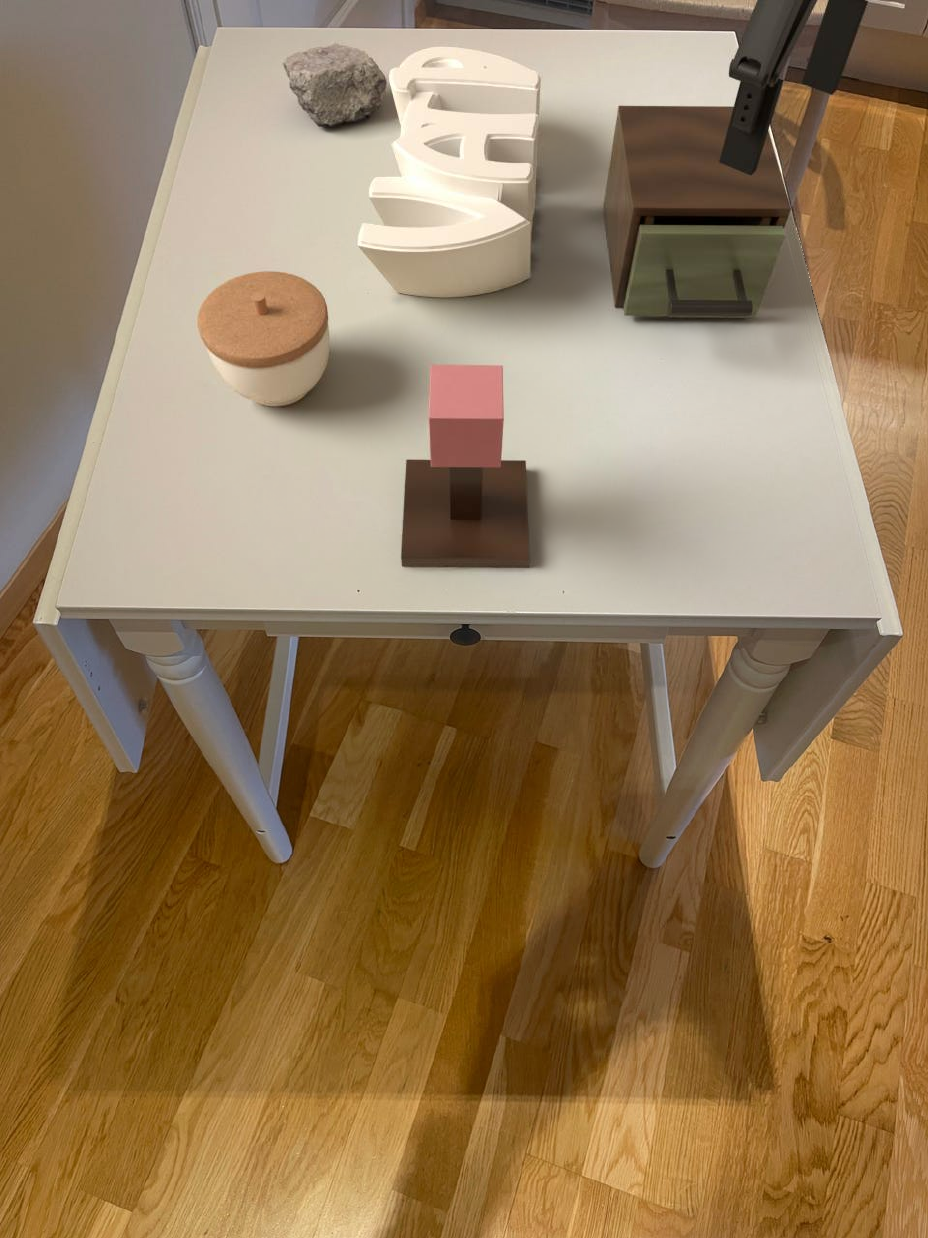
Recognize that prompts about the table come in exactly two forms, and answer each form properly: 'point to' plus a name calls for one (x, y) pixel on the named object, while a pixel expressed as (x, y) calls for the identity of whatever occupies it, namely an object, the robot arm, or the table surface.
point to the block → (466, 415)
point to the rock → (336, 83)
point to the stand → (465, 515)
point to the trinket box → (267, 336)
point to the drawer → (701, 266)
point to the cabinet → (679, 177)
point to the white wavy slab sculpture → (458, 176)
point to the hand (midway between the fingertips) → (779, 125)
